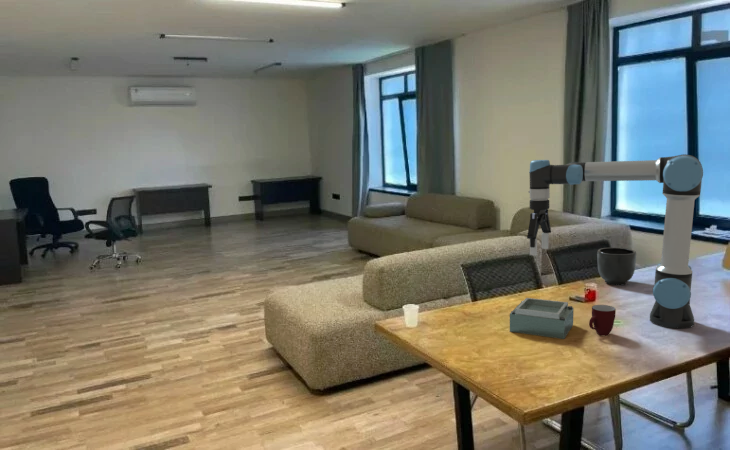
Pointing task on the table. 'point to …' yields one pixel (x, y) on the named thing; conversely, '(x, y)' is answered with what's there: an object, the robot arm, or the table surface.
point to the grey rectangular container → (542, 318)
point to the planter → (616, 265)
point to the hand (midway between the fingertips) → (539, 252)
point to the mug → (602, 319)
